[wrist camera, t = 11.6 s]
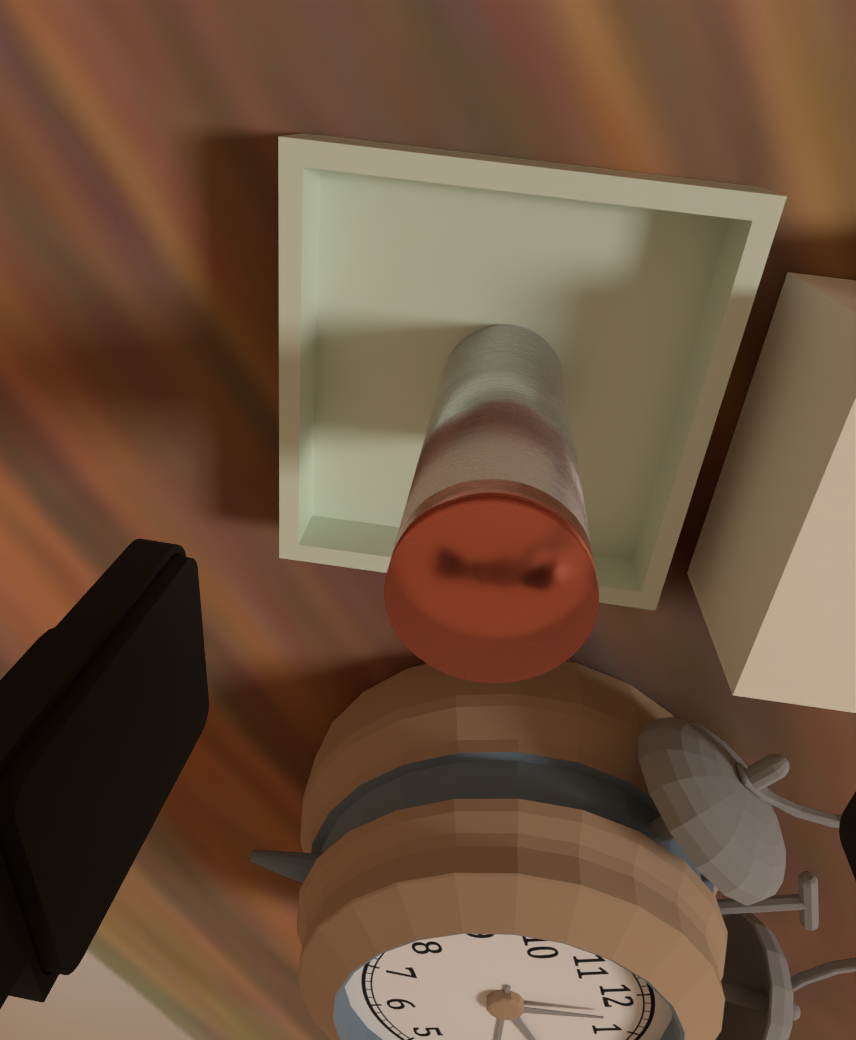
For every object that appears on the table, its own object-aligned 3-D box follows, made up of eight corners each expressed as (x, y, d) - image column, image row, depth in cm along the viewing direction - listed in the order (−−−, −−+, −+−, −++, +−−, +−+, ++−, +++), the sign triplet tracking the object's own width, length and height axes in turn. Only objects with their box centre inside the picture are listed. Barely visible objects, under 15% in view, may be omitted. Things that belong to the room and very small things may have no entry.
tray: (304, 133, 20) (278, 136, 17) (755, 186, 19) (787, 196, 17) (299, 519, 26) (279, 557, 23) (643, 567, 25) (655, 610, 23)
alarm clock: (158, 892, 22) (1043, 823, 17) (254, 681, 30) (873, 593, 25) (337, 1156, 30) (980, 1161, 25) (374, 932, 38) (865, 902, 33)
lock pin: (448, 317, 21) (391, 493, 12) (574, 332, 21) (621, 523, 11) (436, 432, 23) (378, 667, 13) (551, 447, 23) (576, 696, 13)
